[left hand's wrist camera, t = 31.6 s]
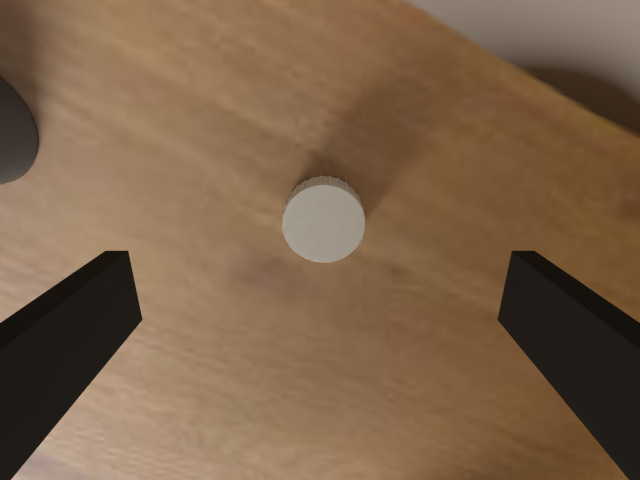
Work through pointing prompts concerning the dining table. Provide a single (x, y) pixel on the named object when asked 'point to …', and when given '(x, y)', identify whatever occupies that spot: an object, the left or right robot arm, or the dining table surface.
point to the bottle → (15, 135)
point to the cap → (323, 219)
